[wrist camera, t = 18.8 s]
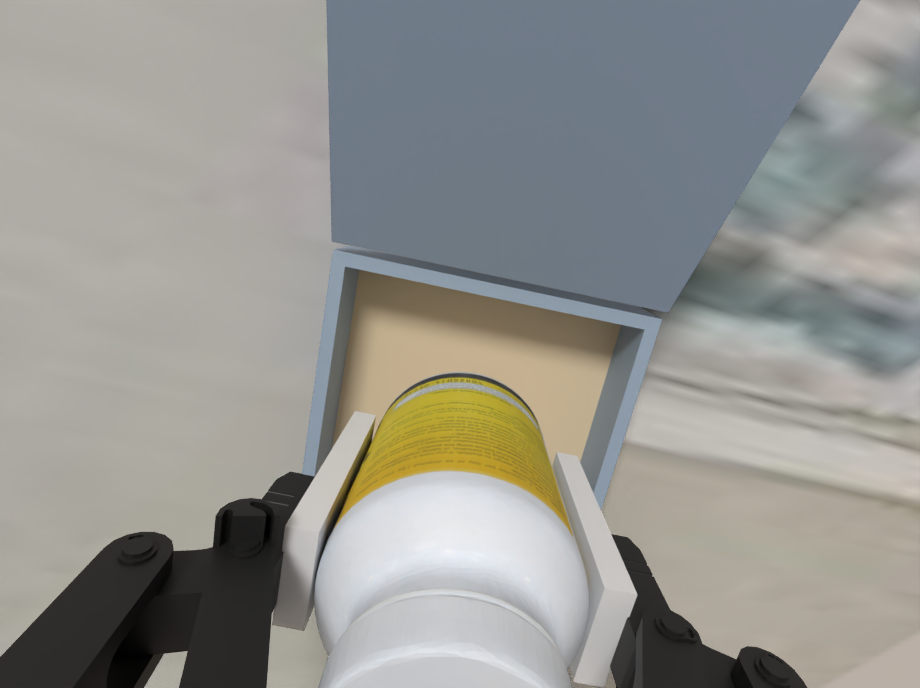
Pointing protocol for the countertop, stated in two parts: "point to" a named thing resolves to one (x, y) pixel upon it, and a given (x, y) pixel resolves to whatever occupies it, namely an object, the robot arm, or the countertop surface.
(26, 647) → the robot arm
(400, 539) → the pill bottle
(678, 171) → the lid
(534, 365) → the box
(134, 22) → the countertop surface
